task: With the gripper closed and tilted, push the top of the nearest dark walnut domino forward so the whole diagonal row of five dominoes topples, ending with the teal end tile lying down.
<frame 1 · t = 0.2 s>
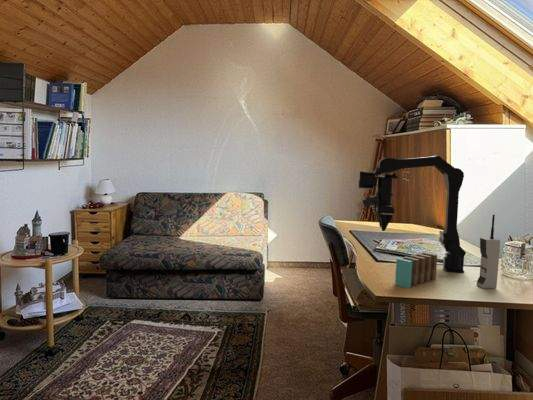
hand: (382, 228, 170), 15 cm above the table, tool pointing down, fingers open, 9 cm apart
domino 1: (428, 278, 155), on the table
domino 3: (415, 281, 150), on the table
domino 2: (422, 279, 153), on the table
domino 4: (409, 283, 148), on the table
domino 5: (402, 285, 145), on the table
vintage mobile phone: (486, 287, 146), on the table
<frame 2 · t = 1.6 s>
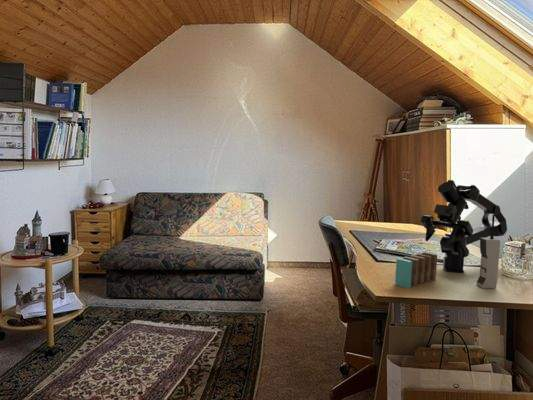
hand: (436, 242, 158), 12 cm above the table, tool tilted 45°, fingers open, 8 cm apart
nothing on the table moved.
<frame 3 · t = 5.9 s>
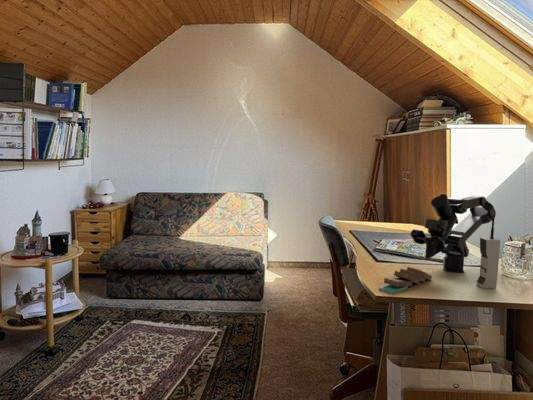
hand: (426, 258, 153), 8 cm above the table, tool tilted 45°, fingers closed
domino 1: (425, 276, 154), point 1 cm above the table, tilted 67°, touching domino 2
domino 3: (413, 280, 149), point 1 cm above the table, tilted 67°, touching domino 2, domino 4
domino 2: (418, 278, 152), point 1 cm above the table, tilted 67°, touching domino 1, domino 3
domino 4: (405, 281, 146), point 1 cm above the table, tilted 80°, touching domino 3, domino 5
domino 5: (400, 286, 144), on the table, tilted 90°, touching domino 4
everything else where it was.
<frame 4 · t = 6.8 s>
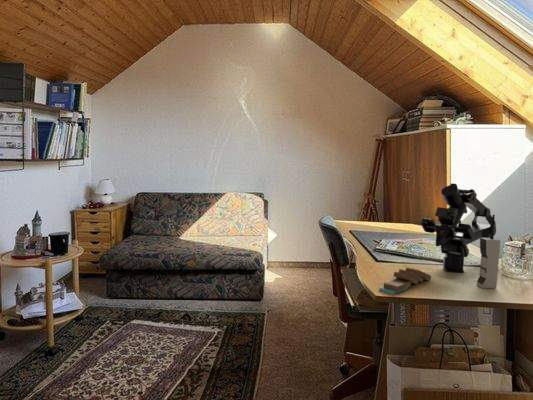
hand: (436, 245, 157), 11 cm above the table, tool tilted 45°, fingers closed
domino 1: (424, 276, 154), point 1 cm above the table, tilted 68°
domino 2: (416, 278, 152), point 1 cm above the table, tilted 67°, touching domino 3
domino 4: (404, 281, 144), point 2 cm above the table, tilted 89°, touching domino 3, domino 5
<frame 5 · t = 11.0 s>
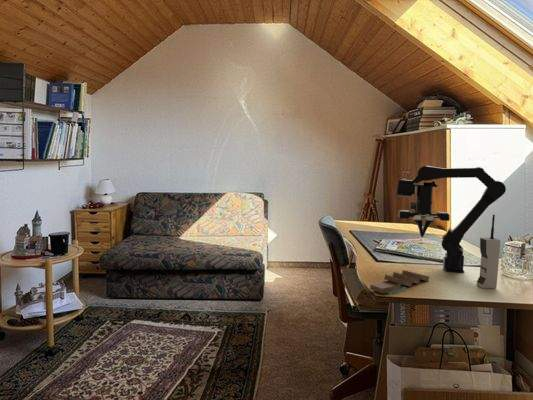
hand: (421, 236, 171), 12 cm above the table, tool pointing down, fingers closed
domino 1: (422, 277, 153), point 1 cm above the table, tilted 73°, touching domino 2
domino 3: (405, 282, 146), point 1 cm above the table, tilted 71°, touching domino 2, domino 4
domino 2: (413, 280, 150), point 1 cm above the table, tilted 72°, touching domino 1, domino 3
domino 4: (394, 284, 141), point 1 cm above the table, tilted 90°, touching domino 3, domino 5
at the end: domino 1 tilted 73°; domino 3 tilted 72°; domino 5 tilted 91° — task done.
